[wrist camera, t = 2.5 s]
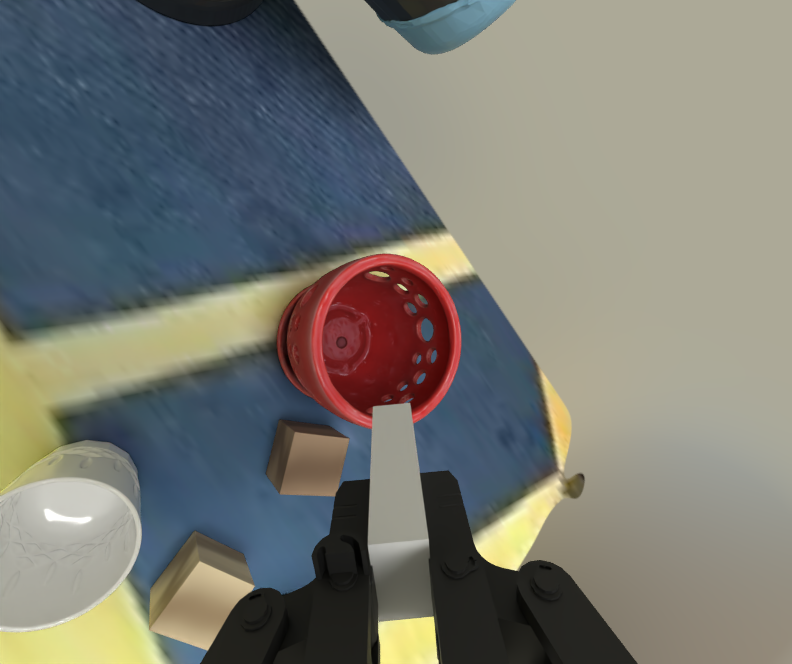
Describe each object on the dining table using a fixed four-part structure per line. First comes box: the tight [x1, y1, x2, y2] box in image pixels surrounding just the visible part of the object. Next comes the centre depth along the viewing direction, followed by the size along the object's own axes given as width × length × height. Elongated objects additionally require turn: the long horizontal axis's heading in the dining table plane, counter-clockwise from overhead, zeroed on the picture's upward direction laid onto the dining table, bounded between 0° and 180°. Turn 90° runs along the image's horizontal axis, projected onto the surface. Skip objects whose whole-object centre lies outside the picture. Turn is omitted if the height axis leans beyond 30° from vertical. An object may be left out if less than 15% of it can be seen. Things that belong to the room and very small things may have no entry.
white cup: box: [0, 440, 142, 632], centre depth 25 cm, size 8×8×10 cm
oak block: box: [149, 531, 255, 650], centre depth 31 cm, size 5×5×5 cm
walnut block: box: [266, 419, 349, 496], centre depth 36 cm, size 5×5×5 cm
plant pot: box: [277, 254, 461, 429], centre depth 34 cm, size 13×13×12 cm
